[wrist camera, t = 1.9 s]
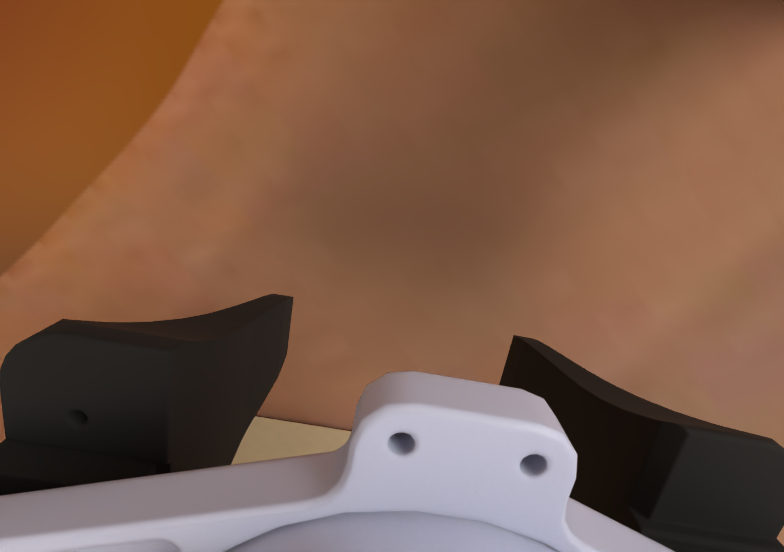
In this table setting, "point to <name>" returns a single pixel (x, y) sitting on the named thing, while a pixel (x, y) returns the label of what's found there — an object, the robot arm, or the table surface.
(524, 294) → the table surface
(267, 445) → the door
